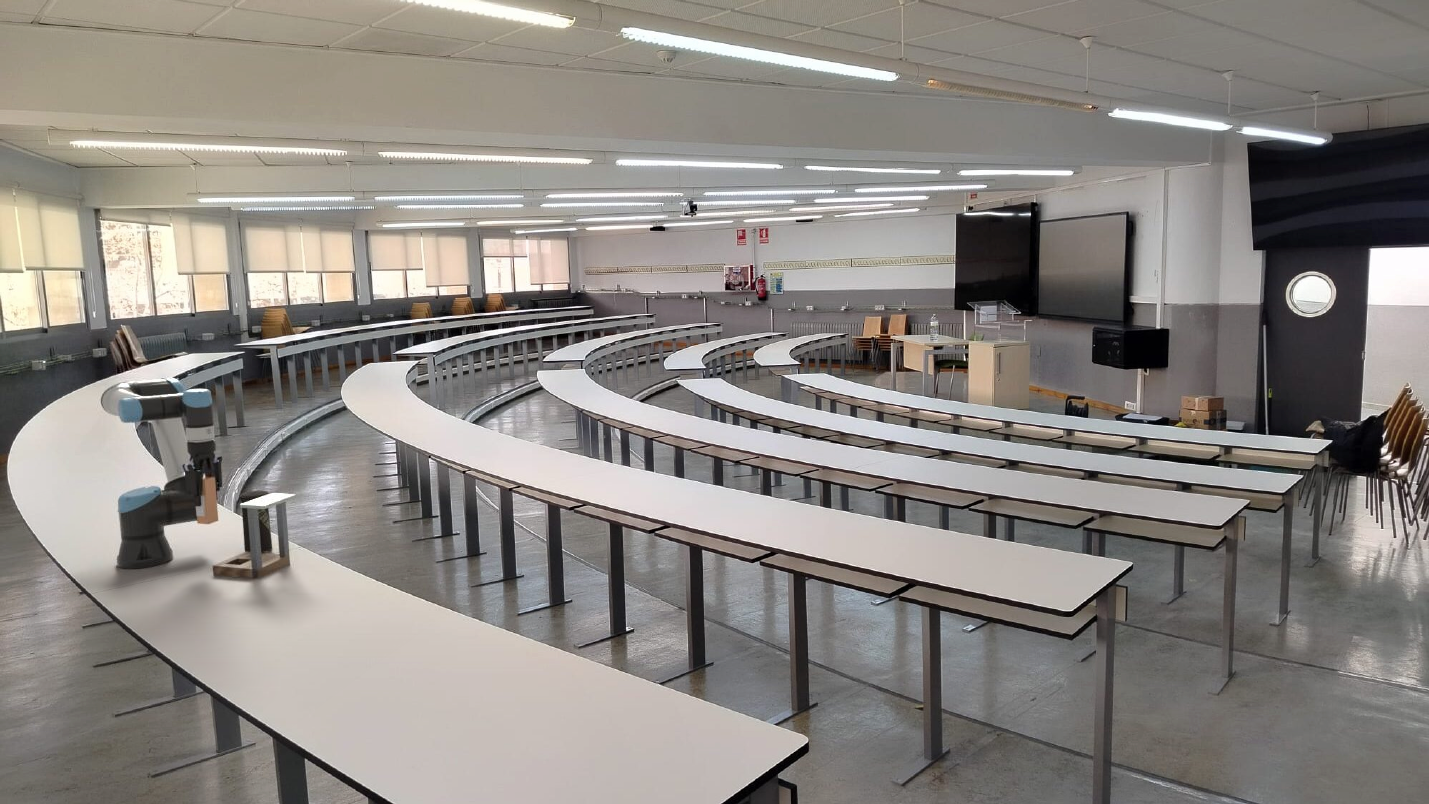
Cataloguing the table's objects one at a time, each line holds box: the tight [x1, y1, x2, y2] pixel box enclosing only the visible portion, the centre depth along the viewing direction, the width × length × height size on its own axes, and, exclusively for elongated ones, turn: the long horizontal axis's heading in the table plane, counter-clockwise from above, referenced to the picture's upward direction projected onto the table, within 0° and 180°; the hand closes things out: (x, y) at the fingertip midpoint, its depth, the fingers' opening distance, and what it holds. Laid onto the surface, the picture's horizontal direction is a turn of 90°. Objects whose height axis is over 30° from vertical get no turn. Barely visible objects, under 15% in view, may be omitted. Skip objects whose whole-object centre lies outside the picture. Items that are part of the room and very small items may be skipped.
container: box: [238, 489, 273, 553], centre depth 294 cm, size 9×9×20 cm
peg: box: [196, 475, 219, 525], centre depth 274 cm, size 4×4×14 cm
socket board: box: [212, 551, 291, 580], centre depth 276 cm, size 16×14×3 cm
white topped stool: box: [239, 492, 297, 580], centre depth 273 cm, size 8×14×23 cm, turn 167°
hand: (207, 513), depth 275 cm, fingers closed on peg, 4 cm apart
